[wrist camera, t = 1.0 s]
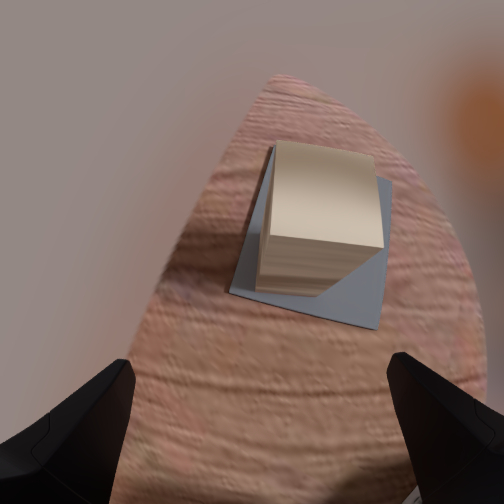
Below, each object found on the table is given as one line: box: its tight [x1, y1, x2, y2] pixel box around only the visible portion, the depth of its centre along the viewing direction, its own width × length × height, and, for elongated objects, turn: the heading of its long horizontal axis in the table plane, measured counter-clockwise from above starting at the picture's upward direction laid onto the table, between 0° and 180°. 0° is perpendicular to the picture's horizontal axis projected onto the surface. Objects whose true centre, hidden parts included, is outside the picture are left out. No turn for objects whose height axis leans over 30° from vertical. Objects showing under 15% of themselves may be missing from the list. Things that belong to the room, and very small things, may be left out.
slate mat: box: [229, 145, 392, 330], centre depth 25 cm, size 13×16×1 cm
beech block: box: [255, 140, 384, 297], centre depth 18 cm, size 5×5×12 cm
